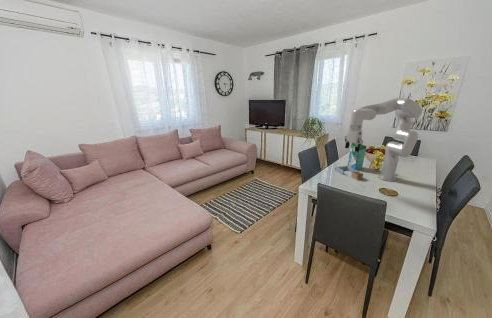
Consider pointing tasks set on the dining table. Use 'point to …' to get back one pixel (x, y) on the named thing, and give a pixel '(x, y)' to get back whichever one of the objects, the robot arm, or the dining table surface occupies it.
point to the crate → (357, 175)
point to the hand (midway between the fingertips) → (351, 149)
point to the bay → (341, 168)
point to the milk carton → (356, 157)
